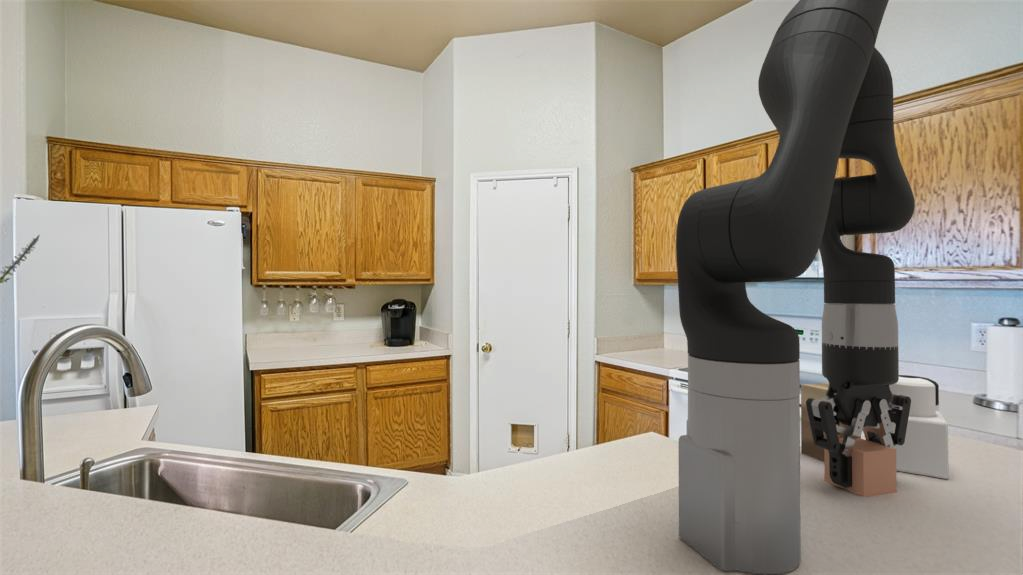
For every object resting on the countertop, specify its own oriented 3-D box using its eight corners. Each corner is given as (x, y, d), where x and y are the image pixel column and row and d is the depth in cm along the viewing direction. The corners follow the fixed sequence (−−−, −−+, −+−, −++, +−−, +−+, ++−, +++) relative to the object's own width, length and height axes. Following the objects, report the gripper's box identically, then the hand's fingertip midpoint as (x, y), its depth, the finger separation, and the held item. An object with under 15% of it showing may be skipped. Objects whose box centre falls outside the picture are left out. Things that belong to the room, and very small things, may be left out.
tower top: (832, 427, 65) (832, 390, 66) (801, 418, 70) (801, 384, 70) (860, 425, 67) (860, 388, 67) (828, 416, 72) (827, 382, 72)
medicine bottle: (875, 453, 70) (874, 370, 70) (941, 464, 66) (940, 375, 66) (877, 468, 64) (876, 377, 64) (949, 480, 60) (948, 383, 60)
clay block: (863, 496, 55) (863, 452, 55) (824, 480, 60) (824, 440, 60) (896, 492, 56) (896, 449, 57) (855, 476, 61) (855, 436, 61)
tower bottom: (832, 464, 65) (832, 427, 65) (801, 453, 70) (801, 418, 70) (861, 461, 67) (860, 425, 67) (828, 450, 72) (828, 416, 72)
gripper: (841, 346, 53) (842, 502, 53) (936, 342, 57) (937, 488, 56) (785, 339, 60) (786, 477, 60) (872, 337, 64) (874, 466, 64)
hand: (859, 482), depth 58 cm, fingers closed on clay block, 5 cm apart
